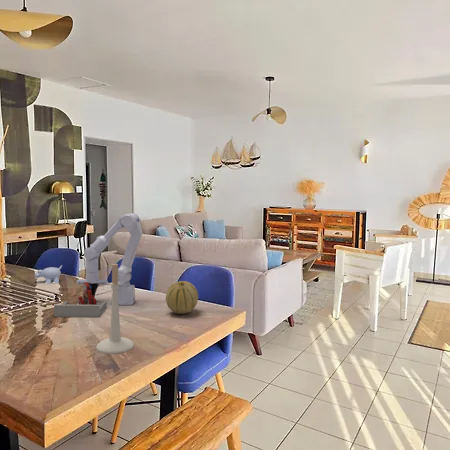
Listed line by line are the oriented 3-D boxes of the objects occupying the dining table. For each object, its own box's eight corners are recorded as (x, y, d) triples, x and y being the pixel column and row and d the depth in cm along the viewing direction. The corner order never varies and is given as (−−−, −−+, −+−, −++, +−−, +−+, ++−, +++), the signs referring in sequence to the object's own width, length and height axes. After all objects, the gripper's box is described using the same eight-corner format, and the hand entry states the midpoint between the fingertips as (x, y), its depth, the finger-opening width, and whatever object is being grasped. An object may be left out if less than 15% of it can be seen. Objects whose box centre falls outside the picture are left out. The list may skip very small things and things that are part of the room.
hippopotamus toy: (34, 281, 243) (34, 265, 242) (62, 279, 249) (61, 263, 248) (34, 285, 233) (34, 268, 233) (63, 283, 240) (62, 267, 239)
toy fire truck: (82, 310, 187) (81, 288, 186) (77, 303, 197) (77, 282, 196) (97, 308, 190) (97, 286, 189) (92, 301, 201) (92, 280, 200)
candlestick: (98, 356, 137) (97, 267, 134) (94, 342, 148) (93, 260, 146) (137, 350, 142) (137, 265, 139) (130, 338, 153) (130, 259, 151)
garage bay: (106, 308, 191) (106, 297, 191) (98, 317, 178) (98, 305, 177) (65, 307, 190) (65, 297, 190) (54, 316, 177) (54, 305, 176)
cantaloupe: (191, 307, 196) (191, 276, 194) (203, 315, 182) (203, 282, 181) (161, 310, 189) (161, 278, 188) (171, 319, 176) (171, 285, 175)
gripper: (109, 270, 204) (109, 296, 206) (79, 269, 204) (80, 296, 205) (105, 272, 197) (105, 300, 199) (75, 272, 197) (75, 300, 198)
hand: (92, 298), depth 201 cm, fingers closed
